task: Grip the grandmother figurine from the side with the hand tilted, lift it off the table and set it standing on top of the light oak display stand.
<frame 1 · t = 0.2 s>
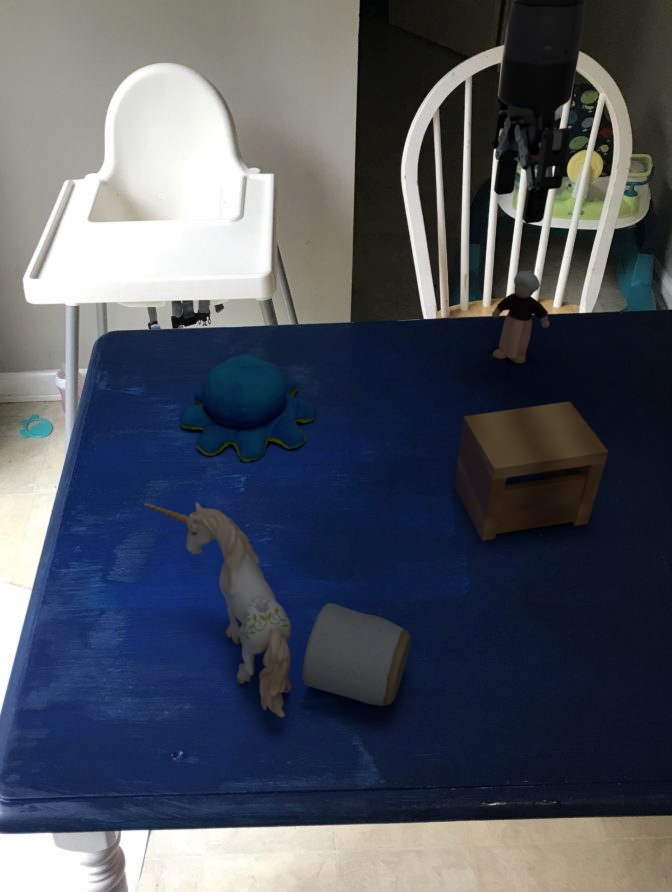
hand: (517, 206, 96), 23 cm above the table, tool pointing down, fingers open, 8 cm apart
plush toy: (249, 420, 106), on the table
unicorn figurine: (223, 658, 78), on the table
grandmother figurine: (513, 358, 115), on the table
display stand: (519, 505, 92), on the table
grey cylinder: (357, 670, 77), on the table
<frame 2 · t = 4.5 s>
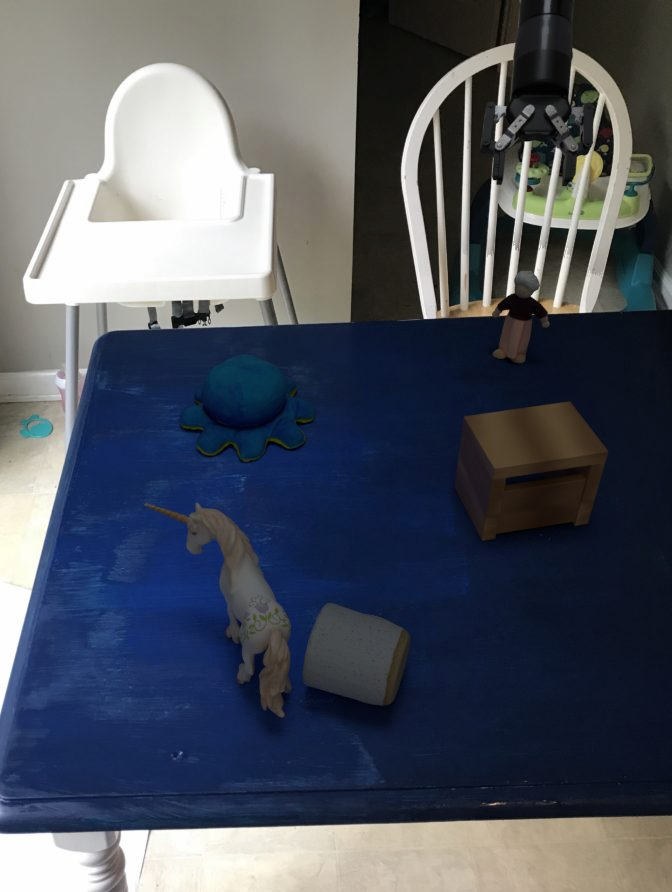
hand: (532, 183, 110), 20 cm above the table, tool tilted 45°, fingers open, 8 cm apart
nothing on the table moved.
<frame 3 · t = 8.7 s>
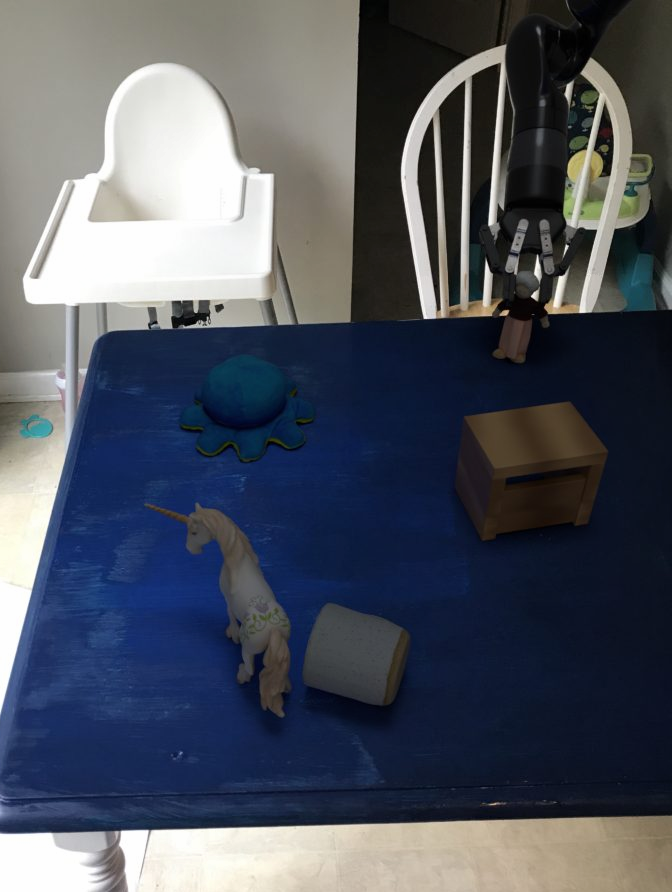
hand: (525, 305, 107), 9 cm above the table, tool tilted 45°, fingers closed on grandmother figurine, 3 cm apart
grandmother figurine: (513, 358, 115), on the table, touching gripper
everything else where it was.
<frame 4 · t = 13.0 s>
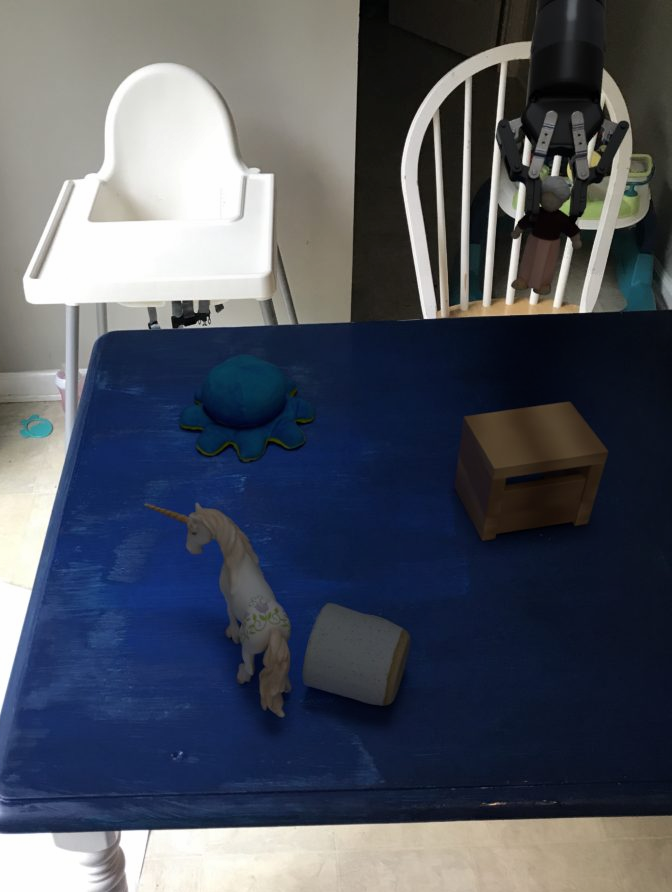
hand: (553, 218, 87), 26 cm above the table, tool tilted 45°, fingers closed on grandmother figurine, 3 cm apart
grandmother figurine: (536, 290, 95), point 17 cm above the table, touching gripper
everything else where it was.
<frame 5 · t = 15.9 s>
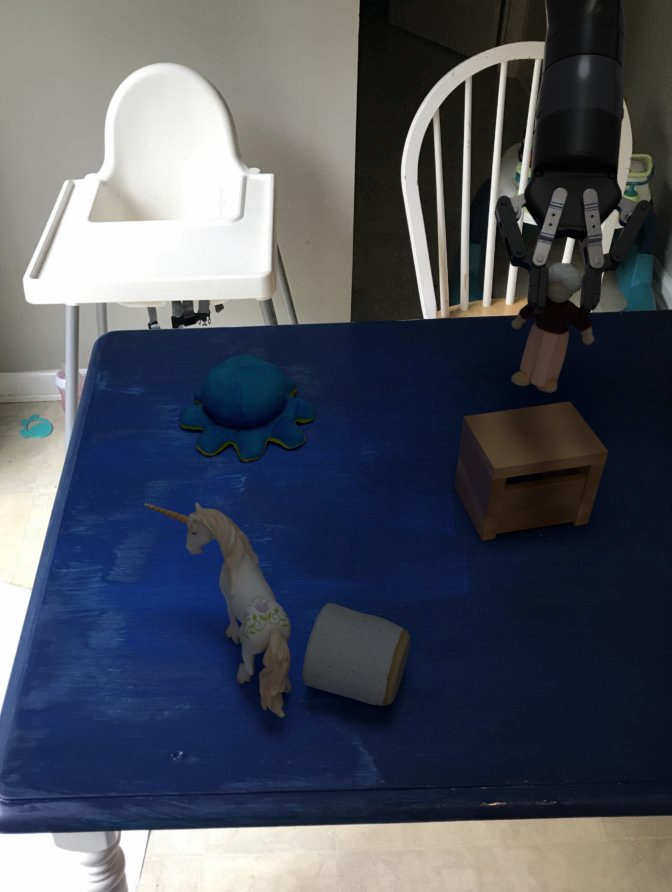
hand: (561, 312, 75), 25 cm above the table, tool tilted 45°, fingers closed on grandmother figurine, 3 cm apart
grandmother figurine: (540, 384, 82), point 15 cm above the table, touching gripper
everything else where it was.
when the fingers open (19 cm above the table, at t = 17.8 s): grandmother figurine stays where it is, resting on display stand.
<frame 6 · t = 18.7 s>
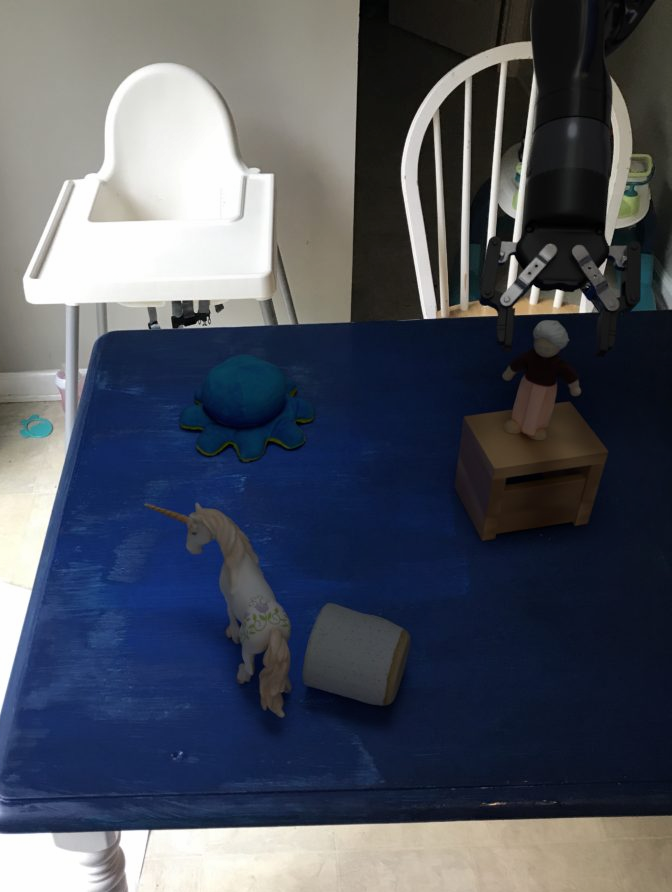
hand: (553, 352, 78), 20 cm above the table, tool tilted 45°, fingers open, 8 cm apart
grandmother figurine: (531, 432, 86), point 10 cm above the table, touching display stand
everything else where it was.
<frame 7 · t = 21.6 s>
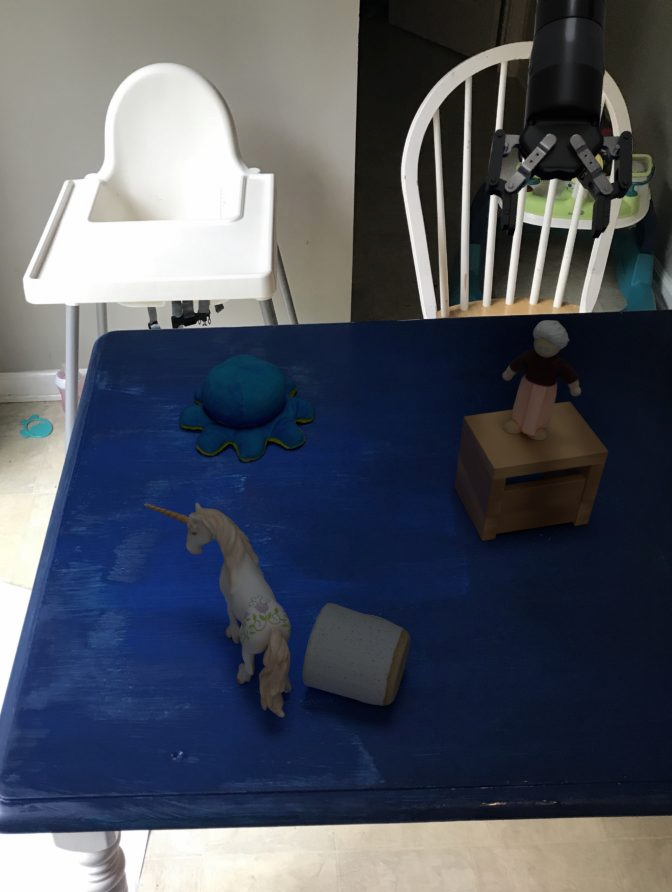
hand: (553, 234, 85), 25 cm above the table, tool tilted 45°, fingers open, 8 cm apart
nothing on the table moved.
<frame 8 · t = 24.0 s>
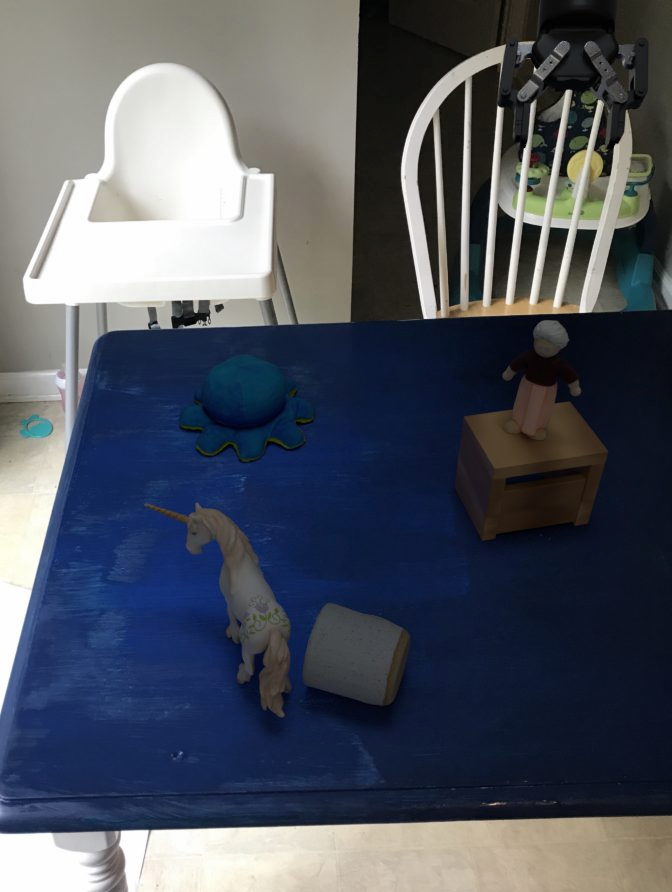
hand: (566, 145, 83), 33 cm above the table, tool tilted 45°, fingers open, 8 cm apart
nothing on the table moved.
at the end: grandmother figurine inside the target area on the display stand (0.4 cm from its centre), point 9.8 cm above the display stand's base; grandmother figurine tilted 0°; the gripper is holding nothing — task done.
